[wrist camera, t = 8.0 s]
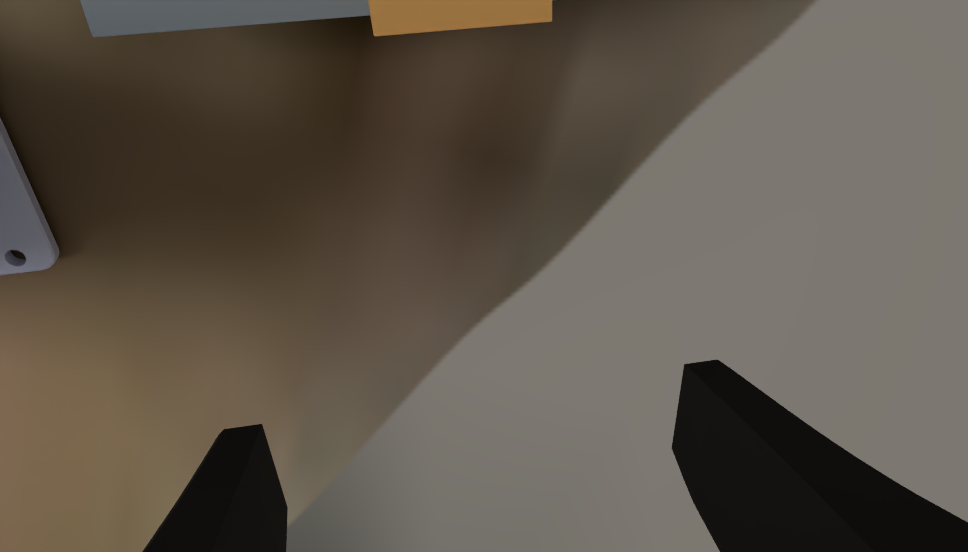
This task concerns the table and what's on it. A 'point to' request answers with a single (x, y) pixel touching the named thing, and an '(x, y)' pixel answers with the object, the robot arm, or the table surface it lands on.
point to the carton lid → (308, 14)
